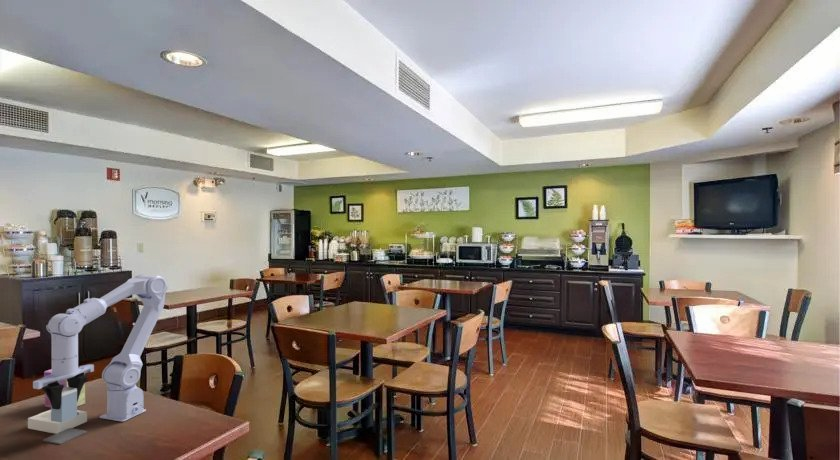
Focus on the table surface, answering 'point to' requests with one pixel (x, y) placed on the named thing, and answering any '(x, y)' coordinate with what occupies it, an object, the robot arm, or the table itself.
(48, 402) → the box
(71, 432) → the mat
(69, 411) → the plug
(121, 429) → the table surface
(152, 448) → the table surface
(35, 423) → the frame
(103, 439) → the table surface
